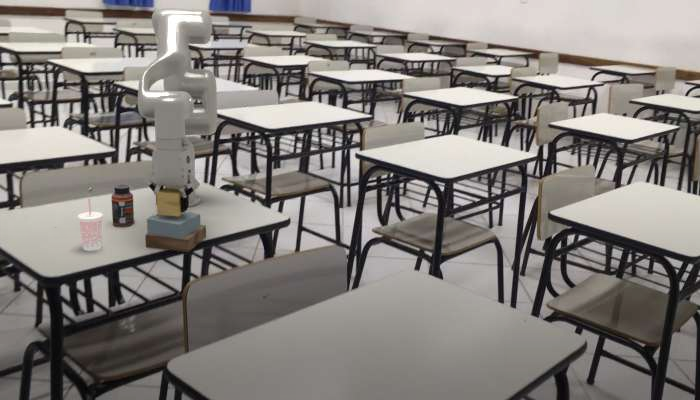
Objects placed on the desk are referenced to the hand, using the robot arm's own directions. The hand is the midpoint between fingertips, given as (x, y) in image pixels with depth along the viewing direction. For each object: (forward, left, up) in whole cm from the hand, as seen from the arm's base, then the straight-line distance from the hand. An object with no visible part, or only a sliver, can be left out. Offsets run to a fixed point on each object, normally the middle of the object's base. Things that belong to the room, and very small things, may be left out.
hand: (172, 208), depth 186 cm
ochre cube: (0, 0, -1) cm, 1 cm away
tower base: (-1, +1, -10) cm, 10 cm away
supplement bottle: (-10, -20, -10) cm, 24 cm away
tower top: (0, 0, -6) cm, 6 cm away
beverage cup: (+10, -18, -10) cm, 23 cm away
